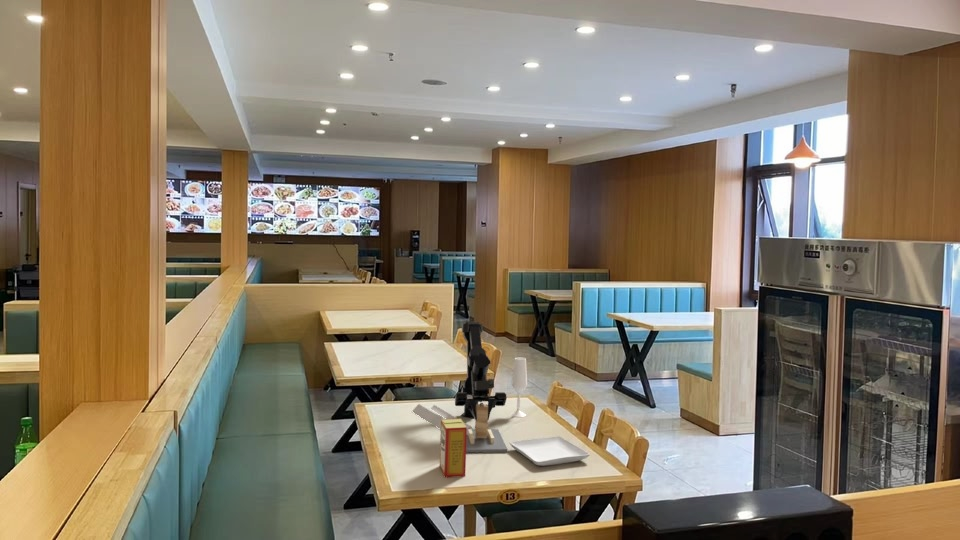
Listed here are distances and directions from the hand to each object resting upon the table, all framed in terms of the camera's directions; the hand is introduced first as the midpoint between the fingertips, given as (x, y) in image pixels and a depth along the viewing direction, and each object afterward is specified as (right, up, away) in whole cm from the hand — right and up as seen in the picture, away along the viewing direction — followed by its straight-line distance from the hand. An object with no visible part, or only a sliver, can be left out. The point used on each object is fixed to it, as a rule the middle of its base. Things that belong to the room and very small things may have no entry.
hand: (482, 419), depth 233 cm
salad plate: (+23, -11, -10) cm, 27 cm away
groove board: (0, -9, +2) cm, 9 cm away
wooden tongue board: (0, -6, +2) cm, 7 cm away
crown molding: (-17, -7, +27) cm, 32 cm away
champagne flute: (+15, -7, +38) cm, 41 cm away
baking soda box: (-10, -10, -27) cm, 30 cm away
